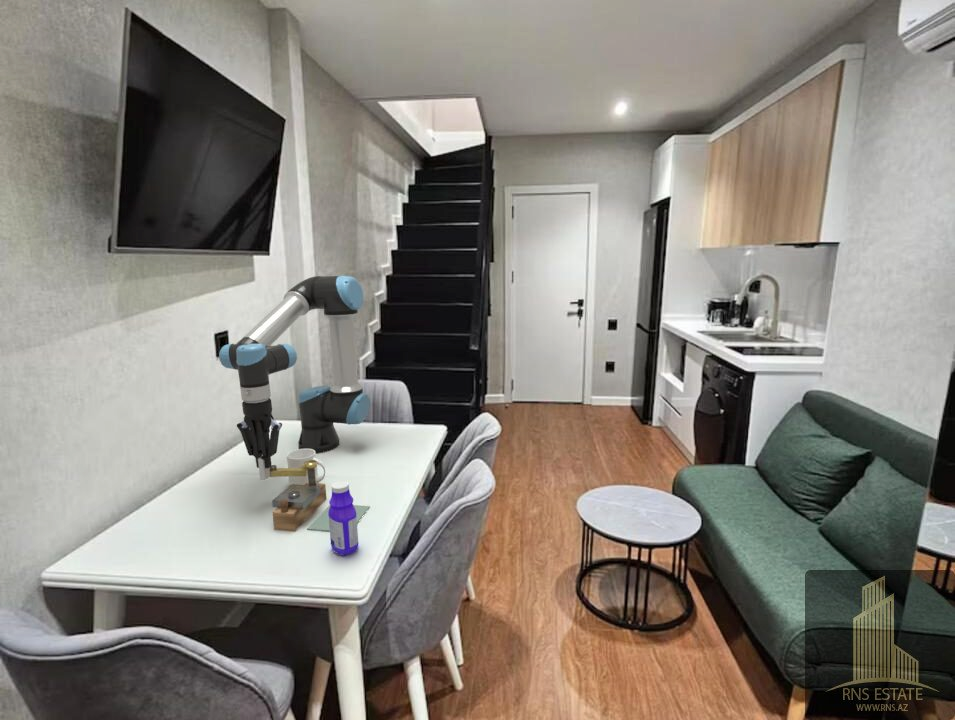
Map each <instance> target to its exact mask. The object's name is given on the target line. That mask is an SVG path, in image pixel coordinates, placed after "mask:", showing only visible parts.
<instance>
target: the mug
mask: <svg viewBox="0 0 955 720" xmlns="http://www.w3.org/2000/svg"><path fill="white" fill-rule="evenodd" d="M309 460H315V461H317V467H315V479H316V483H319V482H321V481H323V480H324V479H325V476H326V467H325V465H324V463H323V462H322V461H321V460H320V459H318V458H317V453H316V452H315V450H313V449H299V448H298V449H295V450H294V449H293V450H292V451H289V452H288V453H287V454H286V461H287V462H286V463H287V468H302V465H303V464H304V463H305V462H306V461H309ZM318 466H320V467H321V468H322V469H323V474H322V476H319V475H318ZM288 482H289V483H288V484H289V486H290V485H291V484H297V485H304V484H306V483H309V481H308V474H307V475H306V476H292V477H288Z"/></svg>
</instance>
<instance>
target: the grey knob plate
mask: <svg viewBox="0 0 955 720" xmlns="http://www.w3.org/2000/svg"><path fill="white" fill-rule="evenodd" d="M320 493H321V486H312V485H297V484H291V485H290V484H289V485H288V486H287V488H285V489H283V491H281V492H280V493H278V495H277V496H275V497H274V498H273V499H272V500H271V504H272V505H271V506H272V508H275V509H277V508H281V505H280V501H281V500H283V499H287V502H288V508H289V509H302V510H303V509H304V508H305V507H306V506H308V505H309V504H310V503H311V502H312V501H313V500H314V499H315V498H316V497H317V496H318V495H319V494H320Z"/></svg>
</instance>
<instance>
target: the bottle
mask: <svg viewBox="0 0 955 720" xmlns="http://www.w3.org/2000/svg"><path fill="white" fill-rule="evenodd" d="M328 503H329V505H330V508H329V512H328V515H329V526H330V532H329V536H330V537H329V539H330V546H331V548H332V550H333V552H335V553H336V554H338V555H341V556H348V555H350V554H352V553H355V552H356V551H357V550H358V548H359V534H358V533H359V532H358V530H359V529H358V523H357V516H356V510H355V507H354V505H355V504H354V497H353V496H352V494H351V491H350V484H349V482H348V481H346V480H338V481H336V482H334V483H332V484H331V497H330V499H329V502H328Z"/></svg>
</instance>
